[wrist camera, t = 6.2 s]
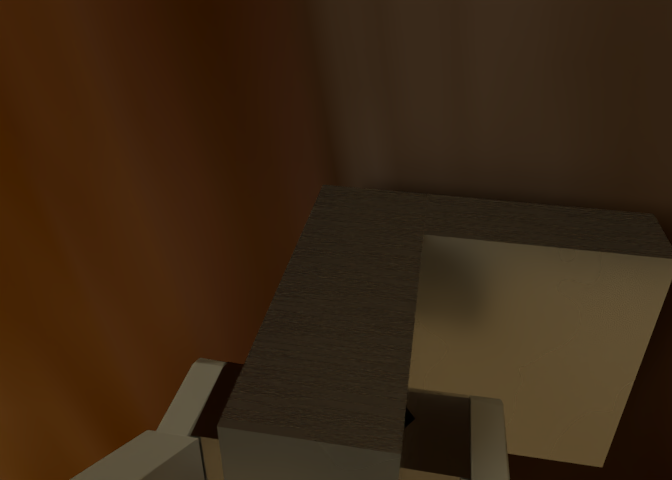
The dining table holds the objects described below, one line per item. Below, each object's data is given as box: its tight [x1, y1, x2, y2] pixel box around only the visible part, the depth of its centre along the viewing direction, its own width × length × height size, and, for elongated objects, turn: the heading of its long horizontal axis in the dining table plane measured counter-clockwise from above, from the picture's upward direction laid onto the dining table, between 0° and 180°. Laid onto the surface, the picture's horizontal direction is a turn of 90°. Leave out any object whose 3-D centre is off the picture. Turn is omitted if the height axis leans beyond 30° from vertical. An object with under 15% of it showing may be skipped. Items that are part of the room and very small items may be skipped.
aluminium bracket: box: [217, 185, 672, 480], centre depth 10 cm, size 5×6×6 cm
